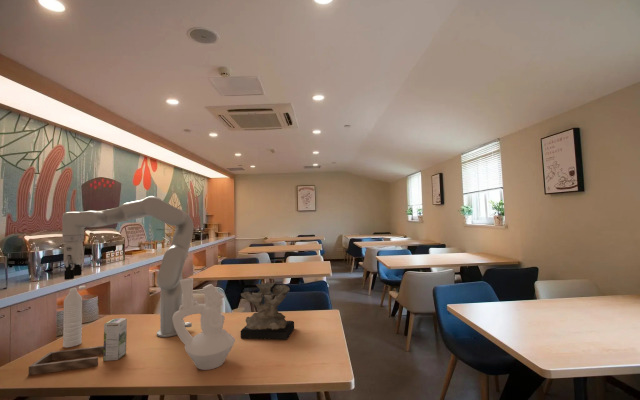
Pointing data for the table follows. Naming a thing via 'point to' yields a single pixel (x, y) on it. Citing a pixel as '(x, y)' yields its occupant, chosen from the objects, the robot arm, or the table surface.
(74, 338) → the water bottle
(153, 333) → the table surface
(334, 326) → the table surface
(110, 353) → the syrup box
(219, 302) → the white sculpture
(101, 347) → the u rest
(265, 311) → the coral
